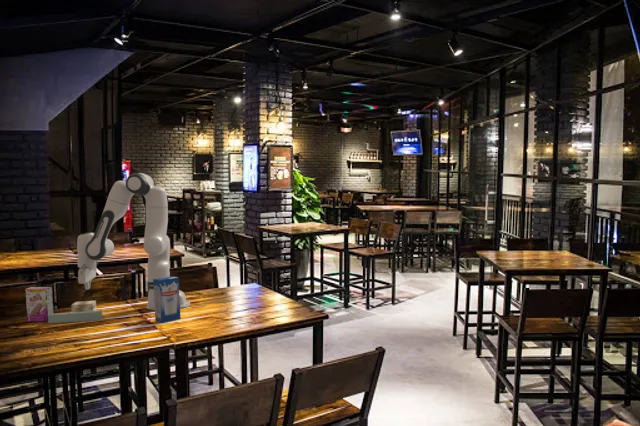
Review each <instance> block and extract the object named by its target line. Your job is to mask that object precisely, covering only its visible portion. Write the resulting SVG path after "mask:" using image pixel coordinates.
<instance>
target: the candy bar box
mask: <svg viewBox="0 0 640 426" xmlns="http://www.w3.org/2000/svg"><path fill="white" fill-rule="evenodd" d="M24 290H25V293H24V294H25V303H26V321H27V323H29V322H31V323H33V322H35V323H36V322H37V323H38V322H40V323H41V321H42V323H44V322H45V323H46V321H48V315H49V314H54V304H53V303H54V301H53V300H54V299H53V288H52V286H34V287H33V286H31V287H27V288H25V289H24Z"/></svg>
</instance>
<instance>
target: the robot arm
mask: <svg viewBox="0 0 640 426" xmlns="http://www.w3.org/2000/svg"><path fill="white" fill-rule="evenodd" d="M134 195H137V196H140V197H144V199H145V227H144V237H143V250H144V252H145V253H146V254H147V255H148V258H147V259H148V260H147V267H146V268H147V283H146V285H147V293H148V297H147V305H146V309H147V310H152V311H155V302H154V283H153V279H158V278H164V277H170V275H171V274H170V273H171V272H170V260H171V259H170V258H171V256H170V255H171V254H170V253H171V240H170V238H169V236H168V235H167V233H168V232H167V231H168V223H169V217H168V216H169V214H168V213H169V210H168V209H169V208H168V207H169V206H168V205H169V204H168V203H169V201H168V196H167V191H166V189H165V188H164V187H162V186H158V185H156V182H155V179H154V178H153V176H151V175H149V174H147V173H141V172H136V173H132V174H130V175H128V177H127V178H126V180H117V181H115V182H114V184H113V185H112V187H111V189H110V191H109V193H108V196H107V200H106V203H105V206H104V207H103V212H102V214H101V217H100V219H99V221H98V224H97V226H96V228H95V231H94V232H91V231H90V232H84V233H81V234H79V235H78V236H77V242H76V244H77V245H76V249H77V268H79V269H78V272H77V275H78V276H77V277H78V279H77V281H78V284H81V285H82V284H84V285H83V286H84V290H85V291H86V290H87V291H88V290H90V289H91V283H92V280H93V279H95V278H96V276H97V265H98V261H99V260H101V259H103V258H105V257H108V256H110V255H111V254H113V252H114V251H115V245H114V242H113V240H111V239H109V238H108V235H109V234H110V231H111V229H112V228H113V225H115V223H116V222H118V221H119V220H120V219H121V218H123V217H124V216H125V214H126V213H127V211H128V208H129V206H130V203H131V200H132V198H133V196H134ZM179 296H180V309H185V308H188V307H190V306H191V301H190V300H187V299H186V295H185V292H184V291H182V290H180V289H179Z"/></svg>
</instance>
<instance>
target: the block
mask: <svg viewBox="0 0 640 426" xmlns="http://www.w3.org/2000/svg"><path fill="white" fill-rule="evenodd" d="M85 311H97V300H85V301H75V302H74V303H72V304H71V312H85Z"/></svg>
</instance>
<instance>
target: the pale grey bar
mask: <svg viewBox="0 0 640 426" xmlns="http://www.w3.org/2000/svg"><path fill="white" fill-rule="evenodd" d="M102 319H103V310H96V311H85V312H72V311H70V312H59V313H58V312H57V313H53V314H49V315H48V322H47V323H48V324H62V322H63V323H75V322H77V323H78V322H91V321H102Z"/></svg>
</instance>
